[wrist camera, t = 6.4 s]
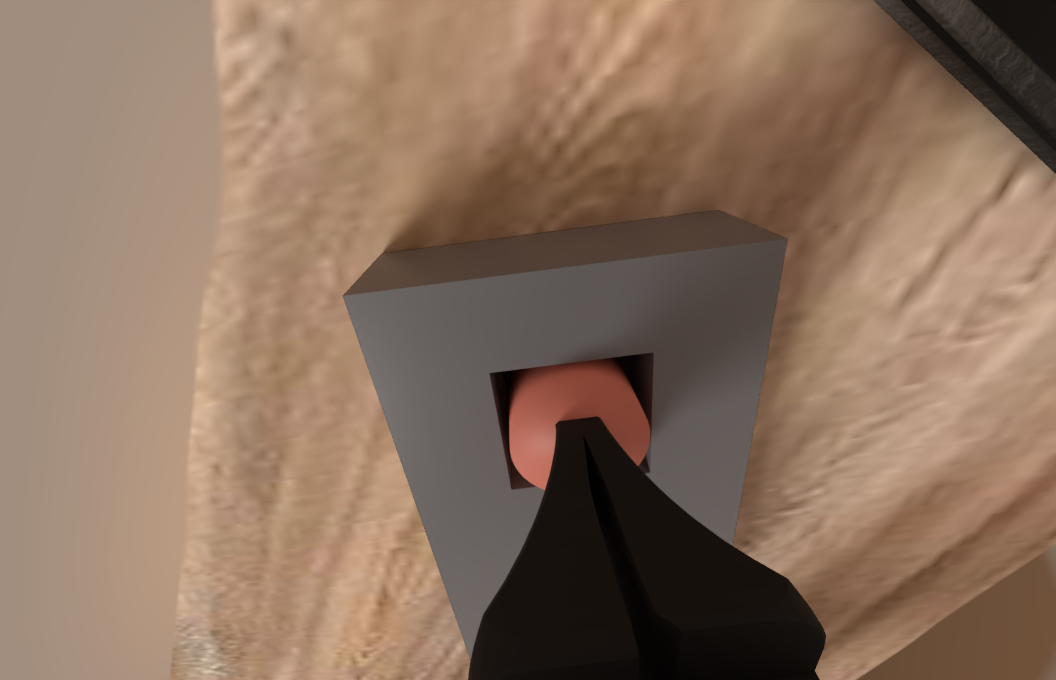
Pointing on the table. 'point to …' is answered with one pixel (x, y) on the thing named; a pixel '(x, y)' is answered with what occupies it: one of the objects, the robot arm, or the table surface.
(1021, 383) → the table surface
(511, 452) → the red button
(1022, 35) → the phone
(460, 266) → the button panel
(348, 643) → the table surface
